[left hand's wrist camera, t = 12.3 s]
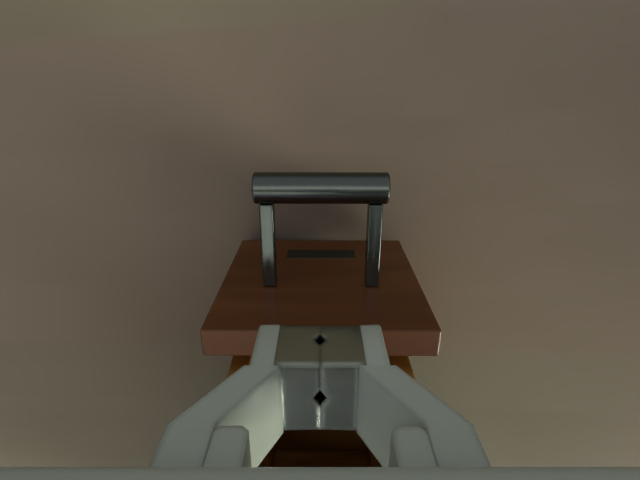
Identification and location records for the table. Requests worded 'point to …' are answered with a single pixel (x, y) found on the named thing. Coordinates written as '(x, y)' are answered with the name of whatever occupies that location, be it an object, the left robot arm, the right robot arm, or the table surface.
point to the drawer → (320, 296)
